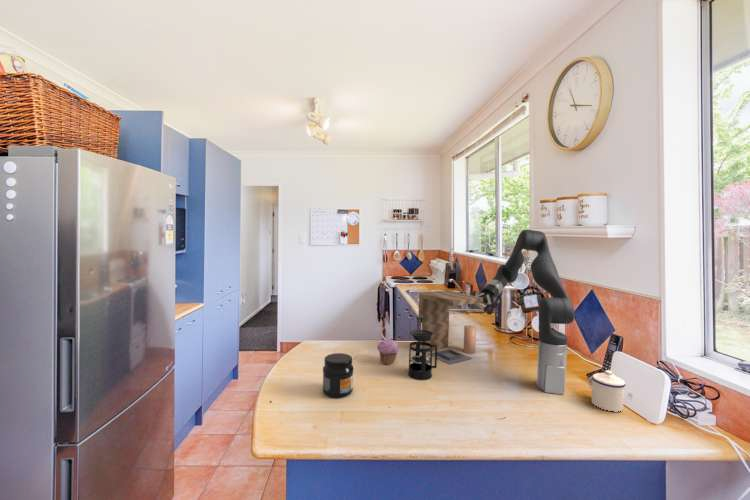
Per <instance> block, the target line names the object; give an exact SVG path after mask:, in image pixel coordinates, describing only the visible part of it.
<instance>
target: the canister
mask: <svg viewBox="0 0 750 500" xmlns="http://www.w3.org/2000/svg"><path fill="white" fill-rule="evenodd" d="M463 327H464V329H463V350H462V351H463V353H465V354H470V355H474V354H476V348H477V347H476V344H477V327H476V326H474V325H470V324H469V325H464V326H463Z"/></svg>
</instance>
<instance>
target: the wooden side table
mask: <svg viewBox="0 0 750 500" xmlns="http://www.w3.org/2000/svg"><path fill="white" fill-rule="evenodd" d="M480 303H484V302H483V298H482V297H477V296H472V295H470V294H467V293H461V292H457V291H453V290H438V291H436V290H435V291H426V292H419V293H418V316H417V317H426V318H427V319H425V320H423V322H422V330H427V331H430V332H432V333H433V335H432V339H431V340H430V341H421V342H427V343H430V344H432V345H436V346H437V350H441V349H445V348H448V347H449V335H450V334H449V333H450V331H449V330H450V306H452V307H455V306H465V305H468V304H472V305H473V304H480ZM417 320H418V322H417V324H418V326H417V330H421V322H420V319H417ZM427 348H431V347H429V346H426V345H421V349H427ZM432 351H435V347H432ZM421 354H422V352H421Z"/></svg>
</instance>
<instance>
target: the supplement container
mask: <svg viewBox="0 0 750 500" xmlns="http://www.w3.org/2000/svg"><path fill="white" fill-rule="evenodd" d="M323 360H324V361H323V362H324V365H323V366H322V392H323V394H324V395H325V396H327V397H329V398H333V399H340V398H345V397H348V396H350V395H351V393H353V390H354V368H355V367H354V365H353V357H352V355H350V354H347V353H342V352H341V353H340V352H339V353H338V352H336V353H331V354H328V355H326V356H325V357H324V359H323Z"/></svg>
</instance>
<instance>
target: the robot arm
mask: <svg viewBox="0 0 750 500" xmlns="http://www.w3.org/2000/svg"><path fill="white" fill-rule="evenodd" d="M522 250H527V251H532V252H536V253H537V255H536V256H535V258H534V259H533V260H532V262H531V265H530V272H531V275H532V279H533V280H534V282H535V283H536V285H538V287H540V288H541V289H543V291H545V292H546V293H547V294H549V295H550V296H551V297H546V296H545V297H541V298H540V300H539V303H538V344H537V345H538V348H537V367H536V368H537V369H536V387H537V388H538V389H540V390H541V391H542V392H544V393H549V394H556V395H564V394H565V392H566V379H567V378H566V375H567V355H568V353H567V352H568V349H567V348H568V337H567V334H565V333H563V332H560V331H558V330H555V329H554V328H552V324H555V325H556V324H557V325H568V324H571V323H573V322H574V321H575V317H576V315H575V314H576V313H575V307H574V305H573V303H572V300H571V298H570V297H569V294H568V293H567V291H566V289H565V287H564V285H563V283H562V281H561V278H560V275H559V273H558V269H557V267H556V265H555V263H554V260H553V258H552V255H551V251H550V247H549V244H548V239H547V237H546V233H544V232H543V231H539V230H532V229H523V230H522V231H520V233H519V234H518V236H517V239H516V242H515V244H514V247H513V249H512V252H511V254H510V256H509V258H508V259H507V261H506V262H505V264H502V265H500V266H499V267H498V268H497V270H496V273H495V276H494V277H493V278H492V280H490V281H489V282H488V283H486V285H485V286H484V287H483V288H482V289H481V291H480V292H479V293H478V292H477V290H473V291H472V293H470V294H469V295H472V296H477V297H482V298H483V302H482V303H483V304H486V305H485V306H484V308H483V311H484V313H487V312H488V311H489V310H490V309H496V308H497V307H498V305H500V297H498V296H499V295H501V293H502V291H503V290H504V289H505V287H506V286H507V285H508V283H509V284H512V283H514V282H516V280H517V279H518V275H519V270H520V269H521V268H522V267H523V264H524V262H525V256H524V254H523V252H522ZM472 305H473V304H467V307H469V308H471V306H472Z"/></svg>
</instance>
